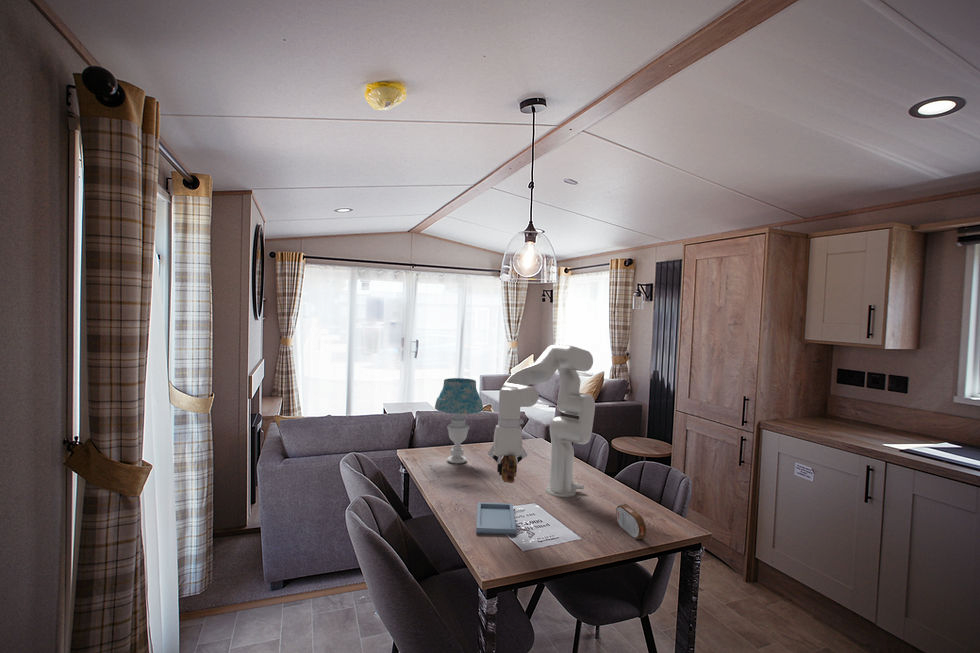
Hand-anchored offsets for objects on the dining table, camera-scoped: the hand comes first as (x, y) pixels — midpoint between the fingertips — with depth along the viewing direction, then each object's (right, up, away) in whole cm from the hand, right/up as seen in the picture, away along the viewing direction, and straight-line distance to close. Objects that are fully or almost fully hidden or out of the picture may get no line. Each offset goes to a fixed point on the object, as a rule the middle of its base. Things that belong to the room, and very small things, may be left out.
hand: (506, 473), depth 163 cm
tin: (+42, -19, -4) cm, 46 cm away
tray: (-4, -17, +2) cm, 18 cm away
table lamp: (-22, -15, +67) cm, 73 cm away
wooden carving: (0, -3, 0) cm, 3 cm away
